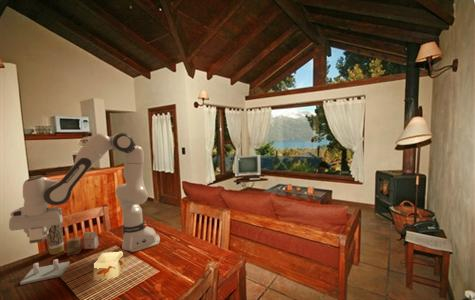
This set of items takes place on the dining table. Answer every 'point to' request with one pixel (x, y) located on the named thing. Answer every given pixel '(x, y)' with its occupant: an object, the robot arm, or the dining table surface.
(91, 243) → the grey box
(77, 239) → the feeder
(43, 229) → the sleeve
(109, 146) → the robot arm
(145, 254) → the dining table surface
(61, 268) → the pinboard
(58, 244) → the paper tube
